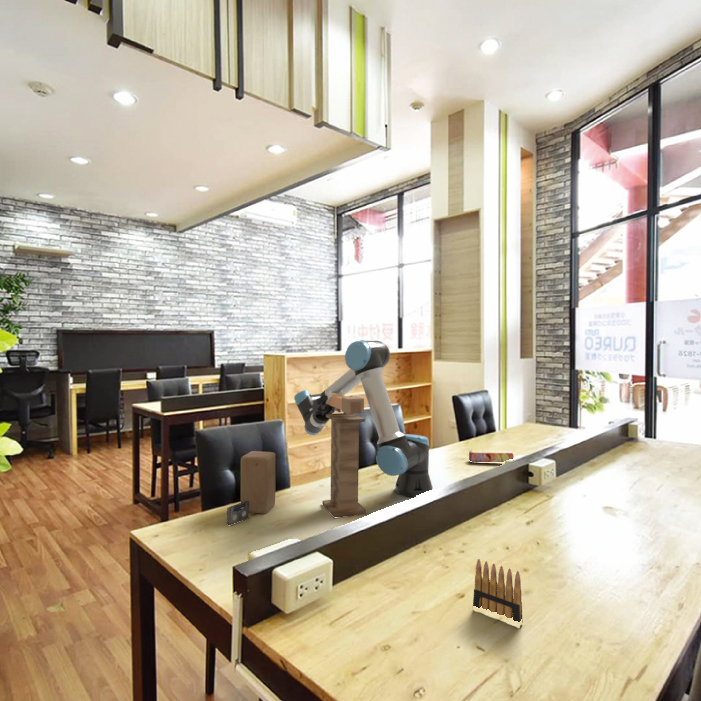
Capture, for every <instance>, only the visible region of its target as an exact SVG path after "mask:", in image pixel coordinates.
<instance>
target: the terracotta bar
mask: <svg viewBox="0 0 701 701" xmlns="http://www.w3.org/2000/svg"><path fill="white" fill-rule="evenodd" d="M326 395H327V393H325V396H326ZM325 403H326V402H325ZM328 405H330V406H333V407H335V408H338V409H340V410H341V412H342V413H347V414H355V415H356V414H364V413H365V398H364V397H360V396H346V395H344V396H343V395H340V394H337V393H332V398H331V400H330V401H329V402H328Z"/></svg>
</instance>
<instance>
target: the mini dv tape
mask: <svg viewBox="0 0 701 701" xmlns="http://www.w3.org/2000/svg"><path fill="white" fill-rule="evenodd" d="M249 514H250V512H249V501H244V502H242V503H241V502H239V503H236V504H234V505H231V506H229V507H227V508H226V525H227V524H228V525H231V524H234V523H236V524H238V523H237V522H239V521H241V522H243V521H246V520H248V519H249V517H250V516H249ZM247 518H248V519H247ZM245 519H246V520H245ZM242 520H243V521H242ZM239 523H240V522H239ZM228 525H227V526H228ZM234 525H235V524H234ZM231 526H232V525H231Z"/></svg>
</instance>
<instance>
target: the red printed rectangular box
mask: <svg viewBox="0 0 701 701" xmlns="http://www.w3.org/2000/svg"><path fill="white" fill-rule="evenodd" d="M513 458H514V453H513V452H512V450H469V451H468V460H470V461H472V462H504V461H506V460H509V459H513ZM470 461H469V462H470Z"/></svg>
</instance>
